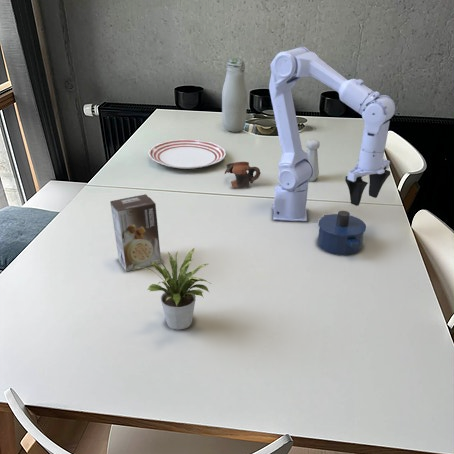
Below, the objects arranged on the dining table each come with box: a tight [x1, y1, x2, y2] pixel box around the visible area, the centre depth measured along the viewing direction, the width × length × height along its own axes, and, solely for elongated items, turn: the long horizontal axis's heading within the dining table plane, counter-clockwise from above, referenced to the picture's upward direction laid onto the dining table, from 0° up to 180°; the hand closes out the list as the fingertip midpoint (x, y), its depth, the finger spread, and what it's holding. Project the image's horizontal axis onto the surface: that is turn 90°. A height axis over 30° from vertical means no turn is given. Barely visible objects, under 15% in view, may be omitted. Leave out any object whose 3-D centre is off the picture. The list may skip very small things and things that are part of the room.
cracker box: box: [110, 193, 162, 272], centre depth 123 cm, size 9×6×16 cm
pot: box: [317, 213, 365, 256], centre depth 134 cm, size 11×17×5 cm
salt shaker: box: [305, 138, 321, 182], centre depth 169 cm, size 6×6×13 cm
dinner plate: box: [148, 138, 227, 170], centre depth 185 cm, size 28×27×3 cm
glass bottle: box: [221, 57, 248, 133], centre depth 207 cm, size 10×10×28 cm
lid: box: [318, 210, 367, 237], centre depth 132 cm, size 12×12×4 cm
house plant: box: [137, 247, 212, 331], centre depth 102 cm, size 14×14×16 cm
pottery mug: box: [224, 161, 261, 189], centre depth 168 cm, size 12×10×8 cm
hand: (363, 200), depth 134 cm, fingers open, 7 cm apart
